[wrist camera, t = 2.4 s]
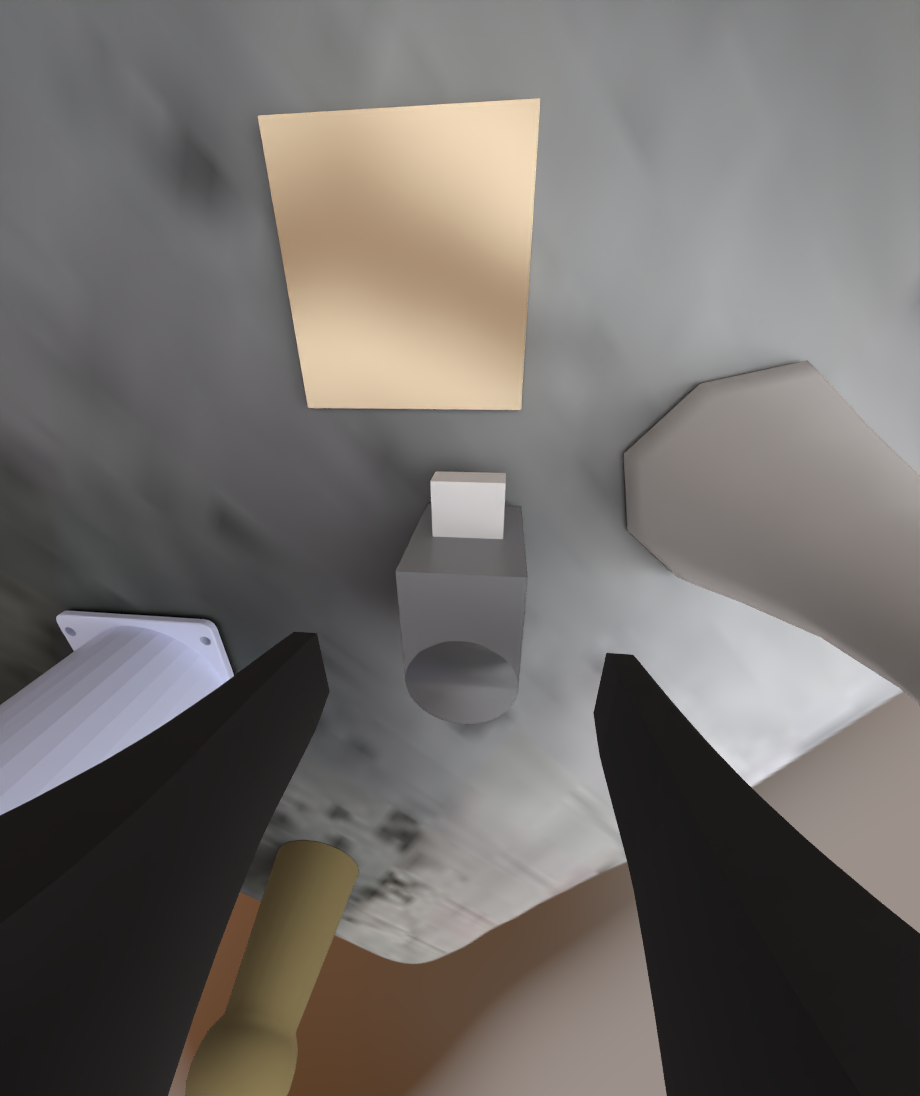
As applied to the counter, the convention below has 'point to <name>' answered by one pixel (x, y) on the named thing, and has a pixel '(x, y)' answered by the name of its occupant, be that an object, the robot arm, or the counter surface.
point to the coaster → (407, 250)
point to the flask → (787, 512)
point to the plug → (464, 599)
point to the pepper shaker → (276, 975)
